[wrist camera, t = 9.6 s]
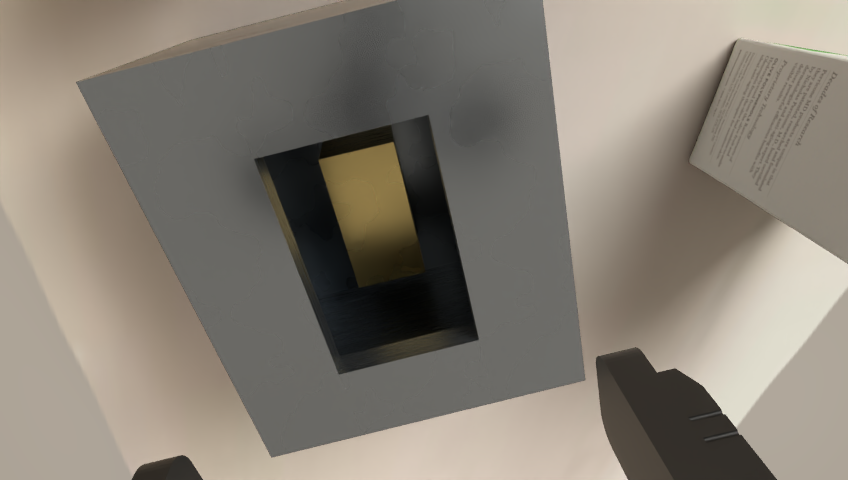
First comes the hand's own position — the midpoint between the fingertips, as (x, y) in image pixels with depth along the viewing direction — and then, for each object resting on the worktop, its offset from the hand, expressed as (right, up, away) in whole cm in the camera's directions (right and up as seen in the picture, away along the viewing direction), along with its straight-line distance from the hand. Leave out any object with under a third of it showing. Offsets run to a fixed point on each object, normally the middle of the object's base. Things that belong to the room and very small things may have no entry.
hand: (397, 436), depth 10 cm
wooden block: (-2, +6, +15) cm, 16 cm away
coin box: (-2, +8, +15) cm, 17 cm away
